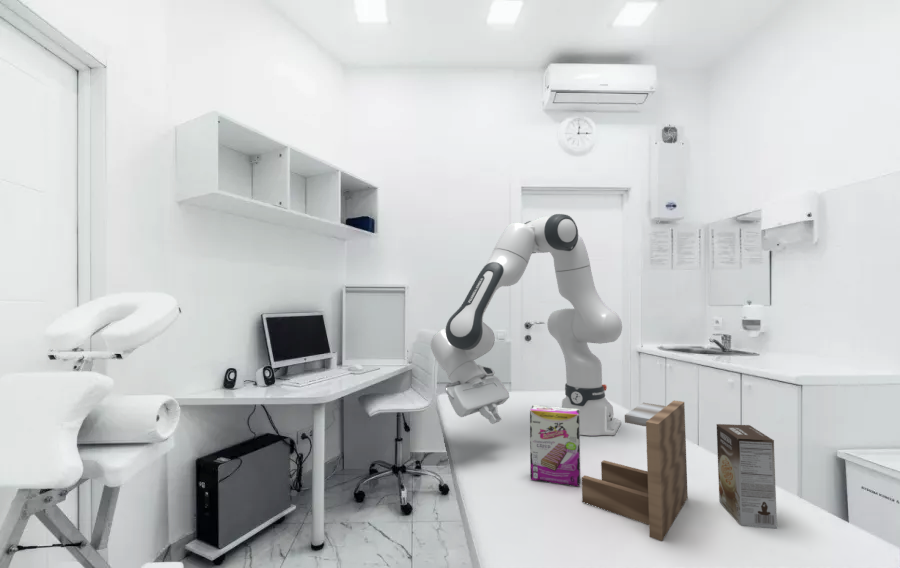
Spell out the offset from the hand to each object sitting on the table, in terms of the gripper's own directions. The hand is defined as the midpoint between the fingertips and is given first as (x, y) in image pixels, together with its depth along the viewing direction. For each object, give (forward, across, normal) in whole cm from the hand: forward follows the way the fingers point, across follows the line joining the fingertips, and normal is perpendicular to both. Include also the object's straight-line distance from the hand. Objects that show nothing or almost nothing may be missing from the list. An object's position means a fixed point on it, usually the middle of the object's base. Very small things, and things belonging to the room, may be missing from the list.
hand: (497, 421), depth 104 cm
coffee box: (+44, +10, -29) cm, 53 cm away
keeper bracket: (+30, 0, -16) cm, 34 cm away
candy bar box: (+19, 0, -4) cm, 19 cm away
